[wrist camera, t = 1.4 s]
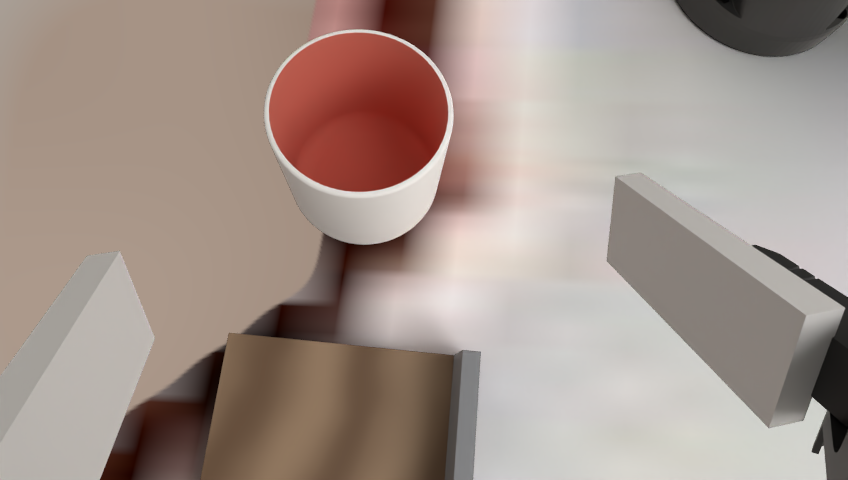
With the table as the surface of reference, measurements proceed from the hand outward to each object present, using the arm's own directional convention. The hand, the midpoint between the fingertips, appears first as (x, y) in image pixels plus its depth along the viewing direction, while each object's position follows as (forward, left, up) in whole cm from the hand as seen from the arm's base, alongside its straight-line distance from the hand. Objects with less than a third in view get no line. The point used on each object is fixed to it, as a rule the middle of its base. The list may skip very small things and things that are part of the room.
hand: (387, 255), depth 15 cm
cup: (+3, -11, -22) cm, 24 cm away
